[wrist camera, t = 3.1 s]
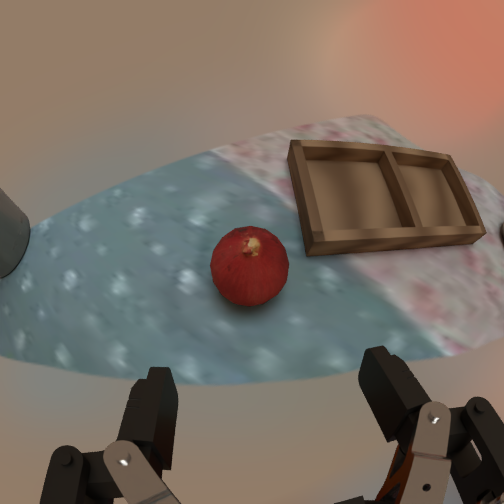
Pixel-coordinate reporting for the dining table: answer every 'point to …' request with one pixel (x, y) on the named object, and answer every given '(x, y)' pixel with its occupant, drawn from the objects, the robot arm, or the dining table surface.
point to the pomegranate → (249, 266)
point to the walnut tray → (379, 198)
